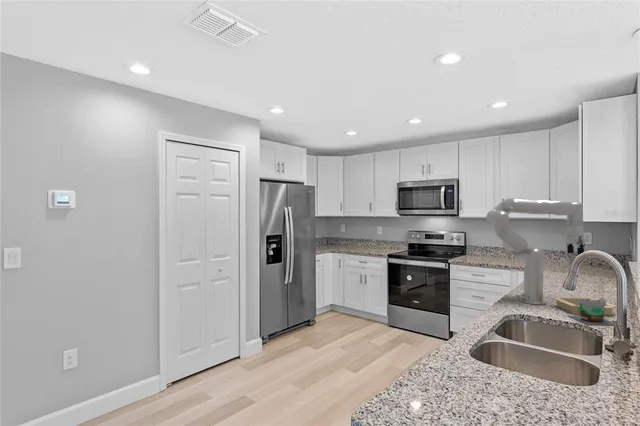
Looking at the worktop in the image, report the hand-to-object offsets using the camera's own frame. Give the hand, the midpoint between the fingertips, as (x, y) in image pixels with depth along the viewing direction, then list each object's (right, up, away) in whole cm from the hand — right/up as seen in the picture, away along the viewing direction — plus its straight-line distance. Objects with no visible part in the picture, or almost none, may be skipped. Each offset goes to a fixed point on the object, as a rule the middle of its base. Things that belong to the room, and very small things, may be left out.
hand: (575, 253), depth 203 cm
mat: (-17, -28, -35) cm, 48 cm away
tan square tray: (-8, -28, -16) cm, 33 cm away
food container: (-17, -28, -36) cm, 49 cm away
